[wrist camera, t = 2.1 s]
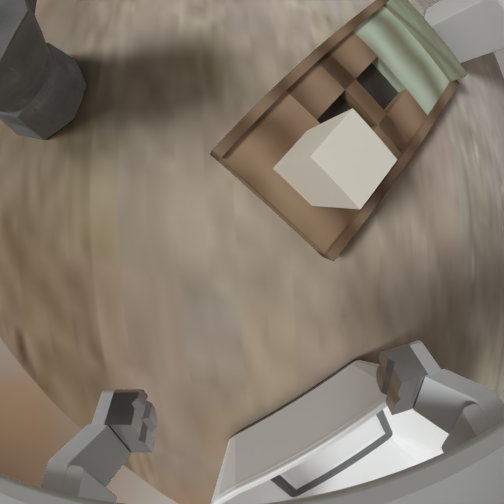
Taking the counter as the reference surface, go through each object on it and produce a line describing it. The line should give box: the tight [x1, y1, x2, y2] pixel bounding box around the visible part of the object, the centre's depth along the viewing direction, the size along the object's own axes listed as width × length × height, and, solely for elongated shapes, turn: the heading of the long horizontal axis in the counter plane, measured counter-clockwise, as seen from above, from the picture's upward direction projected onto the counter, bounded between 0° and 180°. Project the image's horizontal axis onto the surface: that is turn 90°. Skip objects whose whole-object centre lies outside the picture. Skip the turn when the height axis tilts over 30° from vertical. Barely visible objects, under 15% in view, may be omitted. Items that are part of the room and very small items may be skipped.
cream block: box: [273, 108, 397, 209], centre depth 24 cm, size 5×5×8 cm
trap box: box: [210, 0, 467, 261], centre depth 28 cm, size 30×15×5 cm, turn 138°
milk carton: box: [424, 0, 504, 63], centre depth 22 cm, size 7×7×19 cm
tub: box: [211, 360, 449, 504], centre depth 30 cm, size 34×27×13 cm
